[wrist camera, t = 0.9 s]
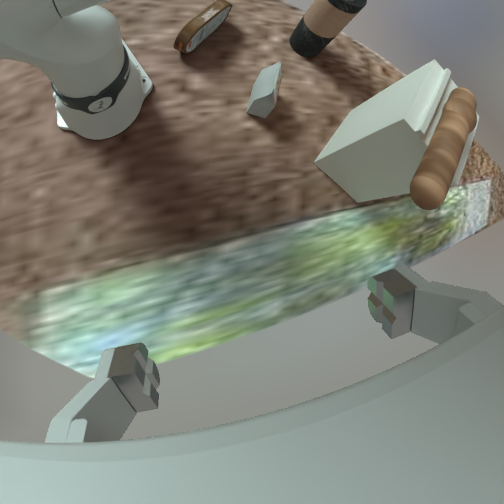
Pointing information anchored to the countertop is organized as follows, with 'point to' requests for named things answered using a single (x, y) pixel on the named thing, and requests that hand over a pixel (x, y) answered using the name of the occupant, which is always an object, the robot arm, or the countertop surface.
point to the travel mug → (323, 24)
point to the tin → (202, 26)
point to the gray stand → (390, 136)
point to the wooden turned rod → (444, 150)
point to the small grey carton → (265, 91)
